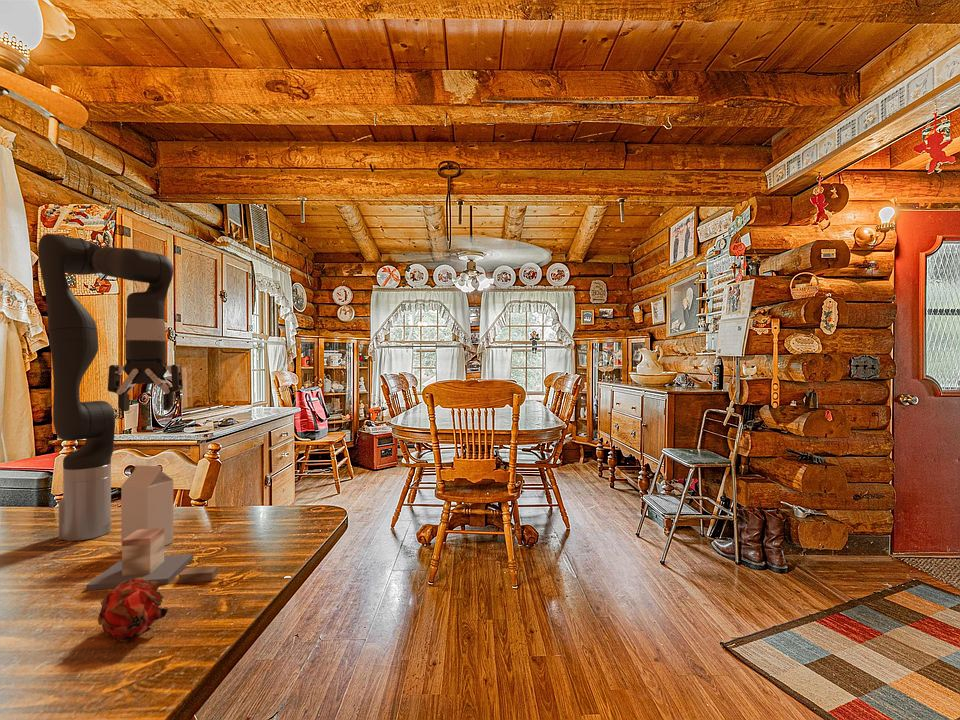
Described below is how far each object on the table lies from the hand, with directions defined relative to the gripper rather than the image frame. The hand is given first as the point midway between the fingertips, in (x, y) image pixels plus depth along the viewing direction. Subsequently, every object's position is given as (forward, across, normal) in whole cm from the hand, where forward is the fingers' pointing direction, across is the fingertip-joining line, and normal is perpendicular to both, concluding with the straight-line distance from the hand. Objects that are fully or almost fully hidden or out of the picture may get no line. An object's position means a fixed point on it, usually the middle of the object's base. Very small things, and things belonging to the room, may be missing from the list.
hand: (146, 410), depth 108 cm
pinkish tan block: (+32, -5, +13) cm, 35 cm away
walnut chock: (+32, -17, +17) cm, 40 cm away
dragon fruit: (+32, -14, +35) cm, 50 cm away
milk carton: (+32, +1, -3) cm, 32 cm away
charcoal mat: (+32, -5, +12) cm, 35 cm away
